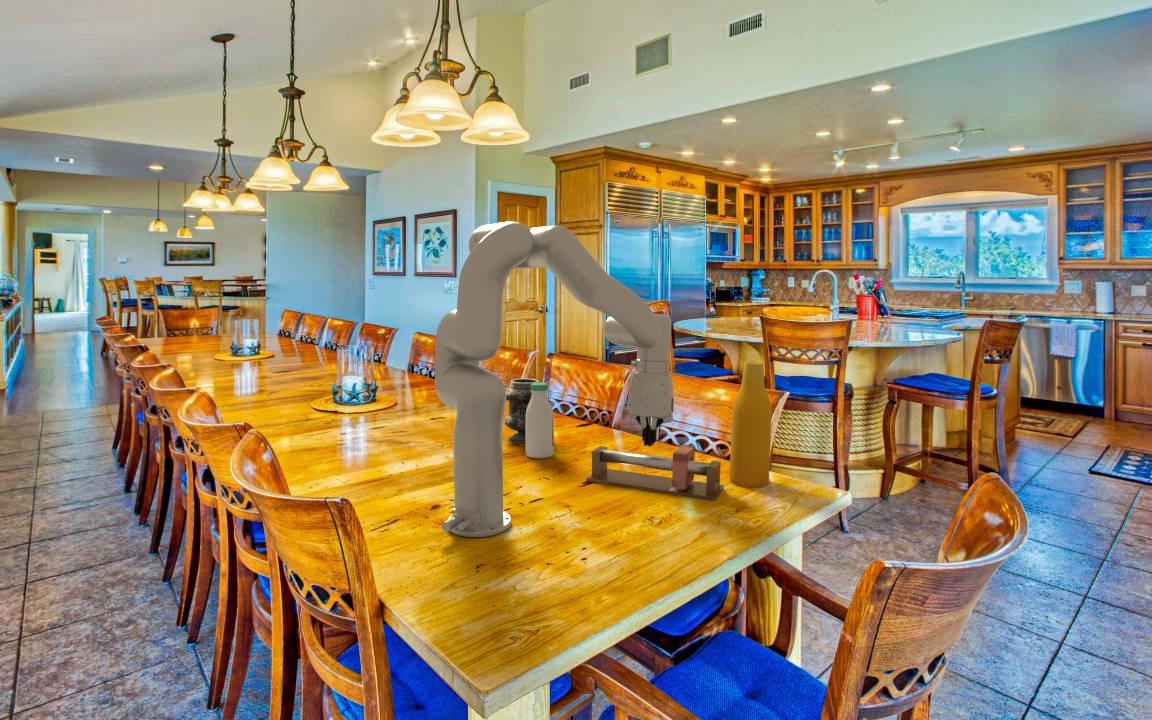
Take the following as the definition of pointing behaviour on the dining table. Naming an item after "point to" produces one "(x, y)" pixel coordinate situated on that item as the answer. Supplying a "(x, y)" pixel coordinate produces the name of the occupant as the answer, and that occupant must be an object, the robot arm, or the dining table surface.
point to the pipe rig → (653, 482)
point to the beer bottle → (751, 430)
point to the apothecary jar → (518, 407)
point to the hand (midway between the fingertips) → (649, 444)
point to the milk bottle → (539, 423)
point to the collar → (682, 466)
